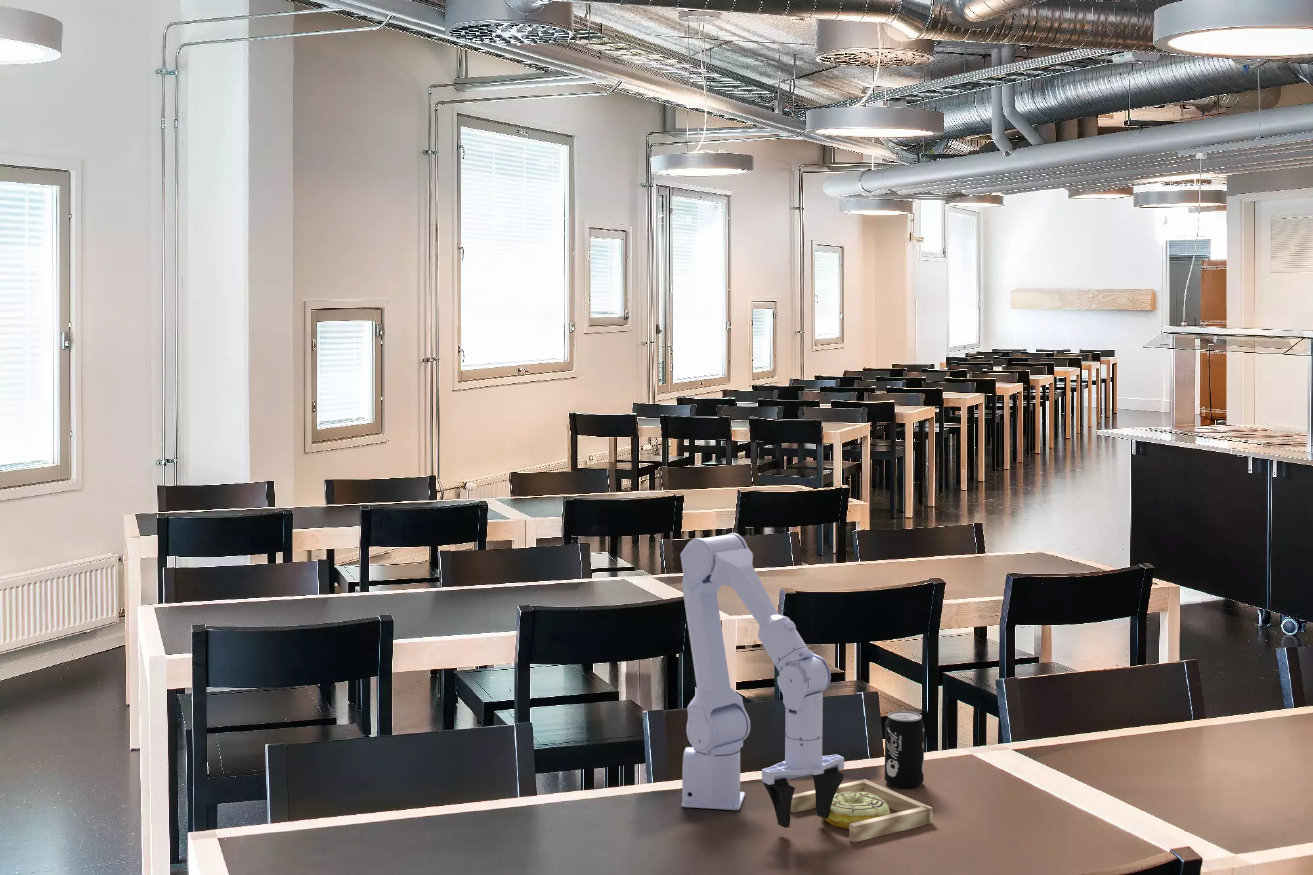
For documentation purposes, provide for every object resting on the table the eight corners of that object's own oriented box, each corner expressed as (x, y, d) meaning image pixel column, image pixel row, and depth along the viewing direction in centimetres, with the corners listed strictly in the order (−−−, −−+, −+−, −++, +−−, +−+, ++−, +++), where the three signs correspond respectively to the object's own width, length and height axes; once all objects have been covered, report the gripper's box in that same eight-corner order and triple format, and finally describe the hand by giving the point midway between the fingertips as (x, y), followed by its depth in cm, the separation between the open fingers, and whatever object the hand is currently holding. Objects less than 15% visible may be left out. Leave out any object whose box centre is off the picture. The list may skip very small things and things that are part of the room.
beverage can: (923, 791, 231) (924, 721, 230) (883, 788, 232) (884, 719, 231) (923, 779, 237) (924, 711, 236) (885, 776, 238) (886, 709, 237)
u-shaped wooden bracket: (854, 842, 207) (854, 826, 207) (789, 810, 221) (789, 795, 221) (932, 823, 215) (932, 807, 215) (864, 793, 229) (865, 779, 229)
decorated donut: (902, 823, 216) (902, 800, 216) (852, 837, 210) (852, 813, 209) (856, 805, 224) (856, 782, 224) (807, 818, 218) (807, 795, 218)
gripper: (781, 749, 204) (780, 837, 205) (857, 734, 212) (856, 820, 213) (753, 737, 210) (753, 823, 211) (828, 723, 218) (827, 807, 219)
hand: (803, 821), depth 212 cm, fingers open, 7 cm apart
